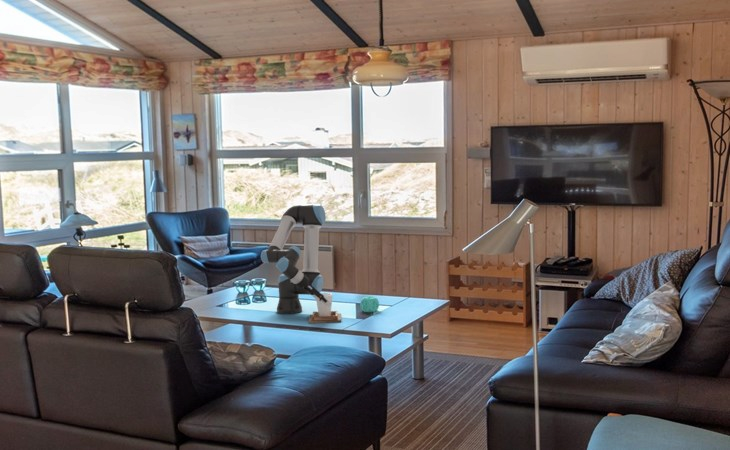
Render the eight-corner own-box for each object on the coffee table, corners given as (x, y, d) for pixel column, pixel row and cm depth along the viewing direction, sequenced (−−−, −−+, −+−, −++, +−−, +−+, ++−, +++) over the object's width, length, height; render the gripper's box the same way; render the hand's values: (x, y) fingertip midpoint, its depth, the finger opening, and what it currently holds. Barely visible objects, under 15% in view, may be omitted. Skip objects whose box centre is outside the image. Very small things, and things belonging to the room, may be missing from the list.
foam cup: (320, 315, 429) (319, 292, 427) (335, 315, 425) (334, 293, 424) (314, 318, 420) (313, 295, 418) (329, 319, 417) (328, 296, 415)
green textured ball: (379, 310, 443) (379, 297, 442) (370, 312, 437) (370, 299, 436) (369, 309, 448) (368, 296, 447) (360, 311, 442) (359, 298, 441)
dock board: (309, 316, 431) (309, 311, 431) (341, 315, 432) (340, 310, 432) (308, 323, 413) (308, 317, 413) (341, 322, 414) (340, 316, 414)
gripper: (288, 281, 426) (314, 304, 433) (301, 287, 403) (329, 312, 410) (297, 271, 427) (323, 294, 434) (310, 277, 404) (337, 301, 411)
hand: (326, 303), depth 422 cm, fingers open, 13 cm apart
